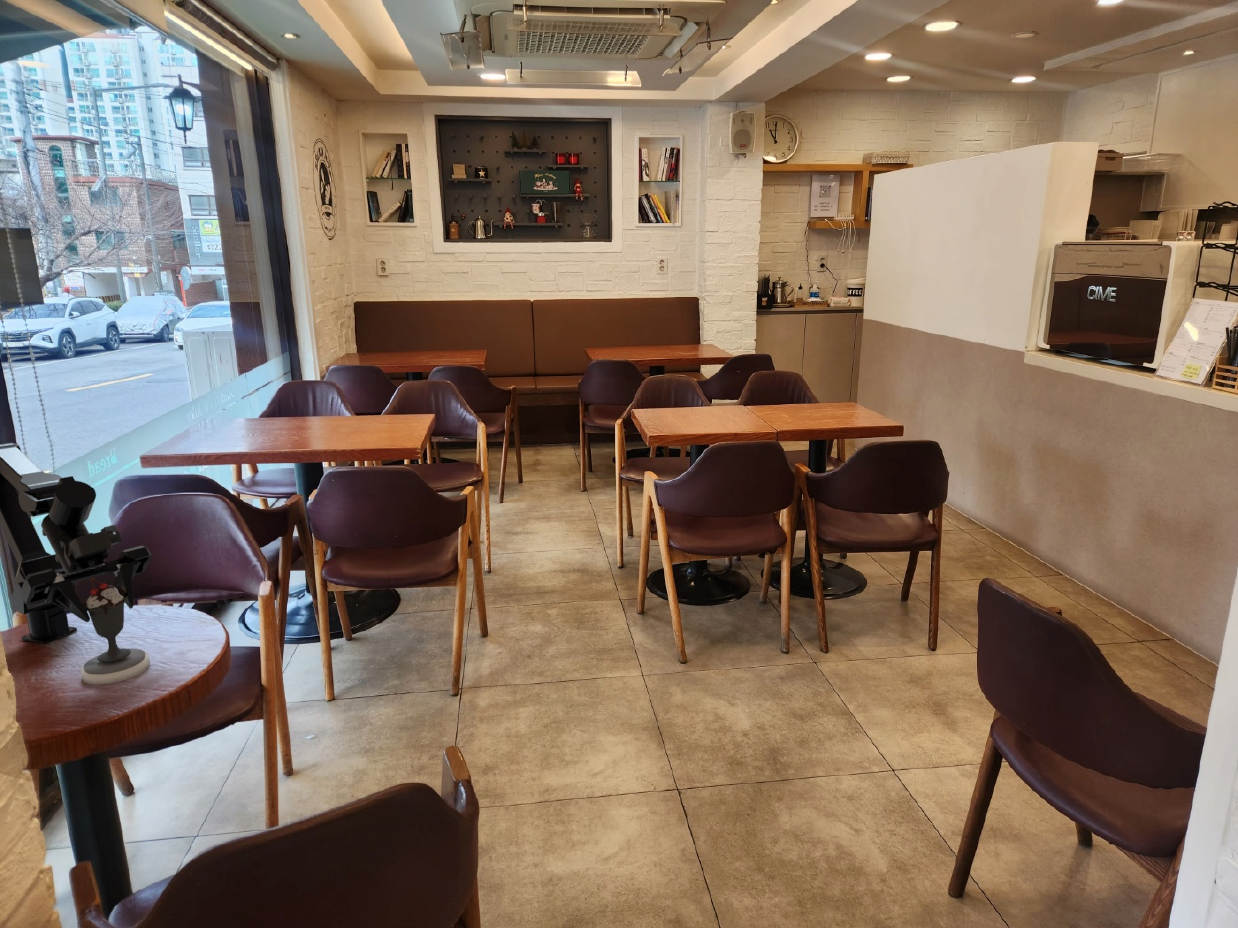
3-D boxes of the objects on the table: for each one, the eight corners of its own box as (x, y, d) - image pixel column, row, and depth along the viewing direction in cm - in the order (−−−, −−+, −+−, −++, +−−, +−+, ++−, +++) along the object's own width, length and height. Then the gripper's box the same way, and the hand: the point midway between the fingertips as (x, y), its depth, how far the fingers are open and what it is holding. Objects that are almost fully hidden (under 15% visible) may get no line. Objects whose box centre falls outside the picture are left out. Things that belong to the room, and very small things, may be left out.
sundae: (88, 668, 131) (74, 584, 127) (94, 652, 137) (80, 571, 133) (134, 659, 134) (121, 577, 130) (138, 644, 140) (125, 564, 136)
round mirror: (67, 679, 132) (65, 668, 132) (121, 654, 142) (119, 644, 141) (111, 688, 129) (109, 677, 129) (163, 661, 139) (161, 651, 138)
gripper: (15, 528, 124) (57, 608, 121) (139, 501, 139) (179, 572, 136) (4, 565, 130) (43, 642, 127) (124, 536, 145) (162, 605, 142)
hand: (110, 613), depth 133 cm, fingers closed on sundae, 6 cm apart
